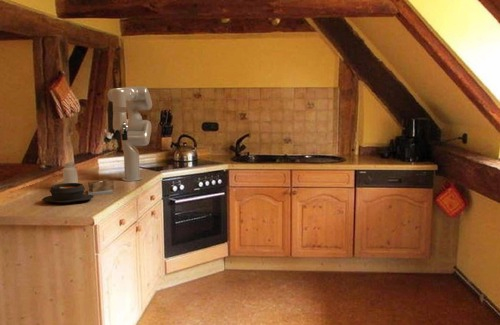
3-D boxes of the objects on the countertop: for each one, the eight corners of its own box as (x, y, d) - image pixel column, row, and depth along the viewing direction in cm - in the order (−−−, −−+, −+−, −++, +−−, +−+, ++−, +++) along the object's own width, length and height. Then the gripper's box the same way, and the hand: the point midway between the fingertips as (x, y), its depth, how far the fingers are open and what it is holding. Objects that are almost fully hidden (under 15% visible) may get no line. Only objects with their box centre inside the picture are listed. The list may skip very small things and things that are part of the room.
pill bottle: (74, 186, 262) (73, 161, 260) (80, 188, 257) (79, 162, 255) (61, 188, 257) (60, 162, 255) (67, 190, 251) (65, 164, 249)
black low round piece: (98, 197, 233) (97, 181, 232) (87, 205, 215) (86, 188, 214) (50, 197, 232) (49, 182, 230) (35, 206, 213) (34, 189, 212)
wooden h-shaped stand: (93, 192, 239) (92, 183, 238) (88, 190, 244) (88, 181, 243) (113, 189, 247) (113, 180, 246) (109, 187, 251) (108, 179, 251)
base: (87, 190, 249) (87, 180, 248) (111, 189, 253) (111, 178, 252) (88, 195, 237) (87, 184, 236) (113, 193, 241) (112, 182, 240)
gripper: (107, 110, 257) (108, 139, 260) (120, 110, 245) (121, 141, 247) (119, 110, 262) (120, 138, 265) (132, 110, 250) (133, 140, 252)
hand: (121, 139), depth 256 cm, fingers open, 9 cm apart
